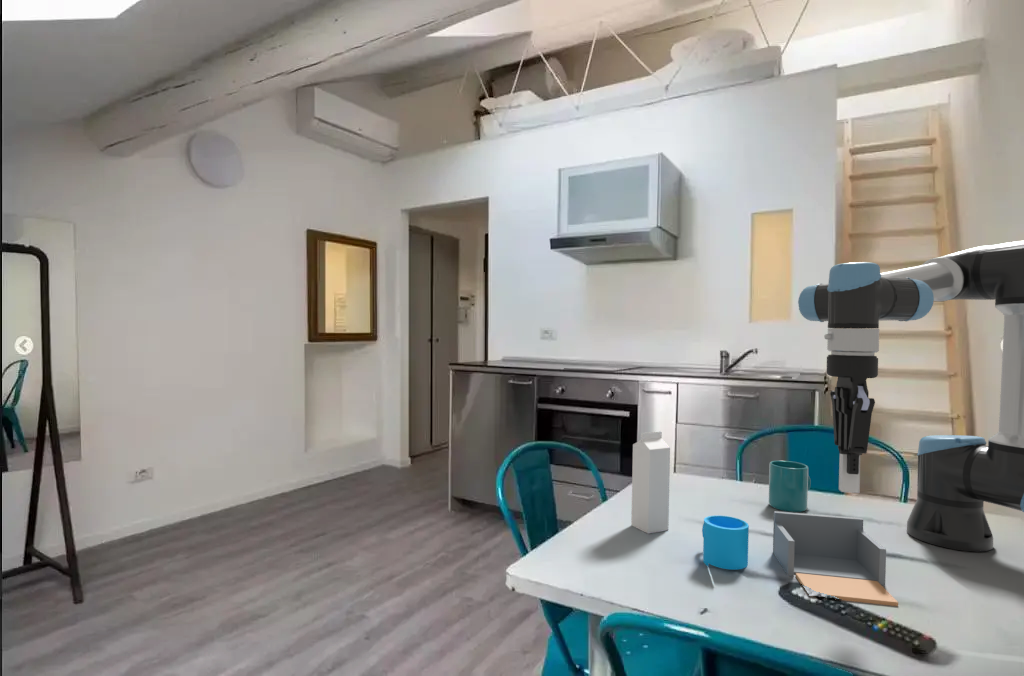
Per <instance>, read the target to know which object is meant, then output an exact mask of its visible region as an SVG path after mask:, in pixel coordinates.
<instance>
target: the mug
mask: <svg viewBox="0 0 1024 676" xmlns="http://www.w3.org/2000/svg"><path fill="white" fill-rule="evenodd" d="M749 526H750V525H749V523H748V522H746V521H745V520H743V519H741V518H738V517H733V516H730V515H719V514H718V515H708V516H705V517H704V518H703V523H702V528H701V533H702V537H703V542H702V544H703V551H702V563H704V565H705V566H707V567H708V568H709V567H710V565H711V566H714V567H716V568H719V569H722V570H723V569H724V570H725V569H726V570H734V571H735V570H743V569H746V568H748V565H749V538H750V537H749V536H750V535H749V533H750V531H749V530H750V529H749V528H750V527H749Z"/></svg>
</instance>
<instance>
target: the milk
mask: <svg viewBox="0 0 1024 676" xmlns="http://www.w3.org/2000/svg"><path fill="white" fill-rule="evenodd" d="M640 436H641V437H640V440H639V441H637V442H635V443H633V444H632V472H631V473H632V474H631V475H632V477H631V516H630V517H631V520H630V521H631V523H630V524H631V527H634V528H636V529H637V530H640V531H642V532H644V533H646V534H655V533H659V532H664V531H669V520H670V519H669V518H670V473H671V472H670V471H671V470H670V468H671V467H670V466H671V465H670V463H671V447H670V446H669V445H668V443H667V442H666V441H665V440H664V439H663V434H662V431H650V432H641V434H640Z"/></svg>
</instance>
